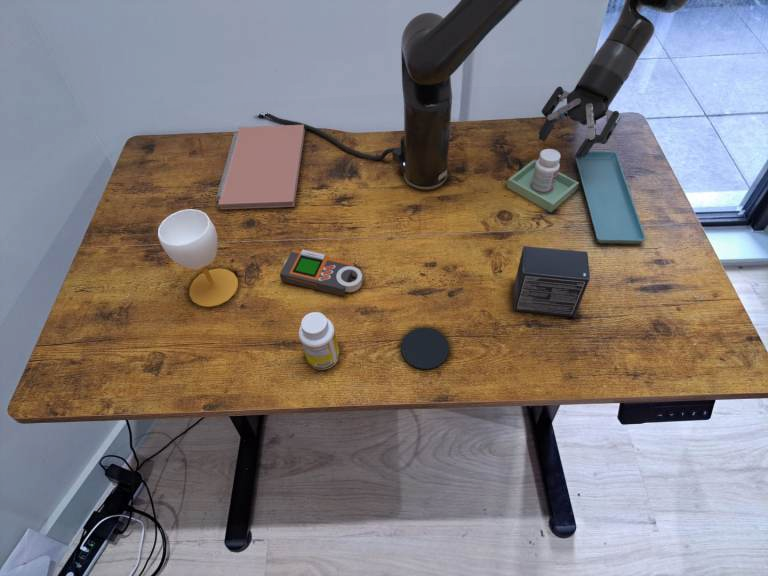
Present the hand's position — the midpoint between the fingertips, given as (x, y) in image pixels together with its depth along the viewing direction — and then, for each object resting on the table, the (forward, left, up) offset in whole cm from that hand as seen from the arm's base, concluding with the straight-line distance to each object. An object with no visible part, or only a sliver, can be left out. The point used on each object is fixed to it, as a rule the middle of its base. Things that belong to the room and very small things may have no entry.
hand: (559, 148), depth 103 cm
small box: (+17, -27, -9) cm, 33 cm away
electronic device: (-15, -51, -9) cm, 54 cm away
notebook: (-50, -40, -9) cm, 64 cm away
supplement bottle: (-2, -62, -9) cm, 63 cm away
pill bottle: (0, -3, -8) cm, 9 cm away
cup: (-28, -67, -9) cm, 73 cm away
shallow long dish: (+11, +3, -9) cm, 15 cm away
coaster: (+9, -49, -9) cm, 51 cm away
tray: (0, -3, -9) cm, 9 cm away
